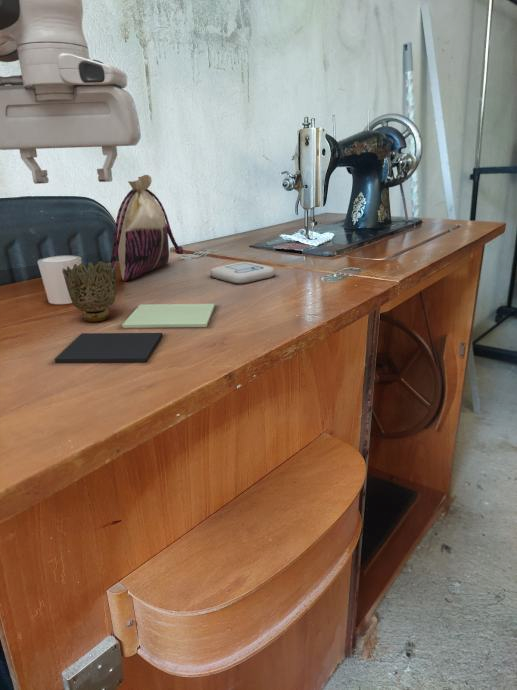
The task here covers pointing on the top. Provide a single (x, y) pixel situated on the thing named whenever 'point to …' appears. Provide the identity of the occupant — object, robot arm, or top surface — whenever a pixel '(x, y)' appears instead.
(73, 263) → the white tapered cup
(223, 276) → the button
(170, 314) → the sage mat
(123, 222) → the pouch
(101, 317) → the cup
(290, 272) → the top surface
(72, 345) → the charcoal mat
